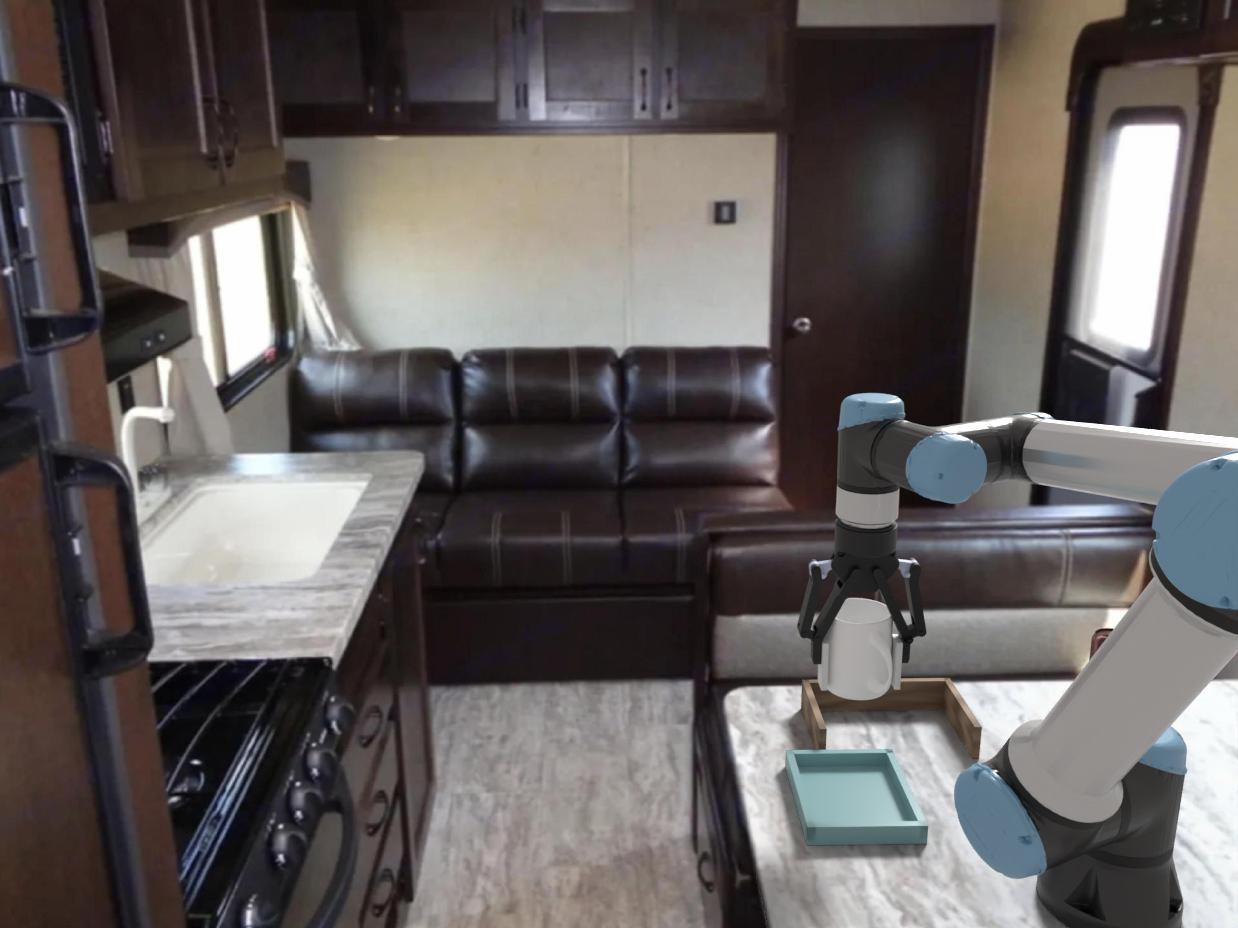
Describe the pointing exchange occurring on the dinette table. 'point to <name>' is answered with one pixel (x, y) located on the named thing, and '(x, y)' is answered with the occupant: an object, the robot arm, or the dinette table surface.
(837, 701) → the bay
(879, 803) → the tray
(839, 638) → the mug
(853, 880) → the dinette table surface
